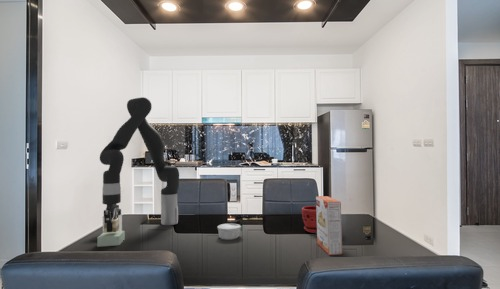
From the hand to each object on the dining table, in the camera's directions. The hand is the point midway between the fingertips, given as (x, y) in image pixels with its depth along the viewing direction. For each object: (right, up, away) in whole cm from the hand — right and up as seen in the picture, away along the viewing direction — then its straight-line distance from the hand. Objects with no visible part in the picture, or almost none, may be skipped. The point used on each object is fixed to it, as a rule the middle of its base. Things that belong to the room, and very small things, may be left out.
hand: (111, 229), depth 129 cm
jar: (-7, -7, +15) cm, 18 cm away
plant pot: (+97, -5, +14) cm, 98 cm away
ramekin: (+54, -6, +6) cm, 54 cm away
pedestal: (0, -6, 0) cm, 6 cm away
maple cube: (0, -1, 0) cm, 1 cm away
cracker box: (+96, -4, -13) cm, 97 cm away
